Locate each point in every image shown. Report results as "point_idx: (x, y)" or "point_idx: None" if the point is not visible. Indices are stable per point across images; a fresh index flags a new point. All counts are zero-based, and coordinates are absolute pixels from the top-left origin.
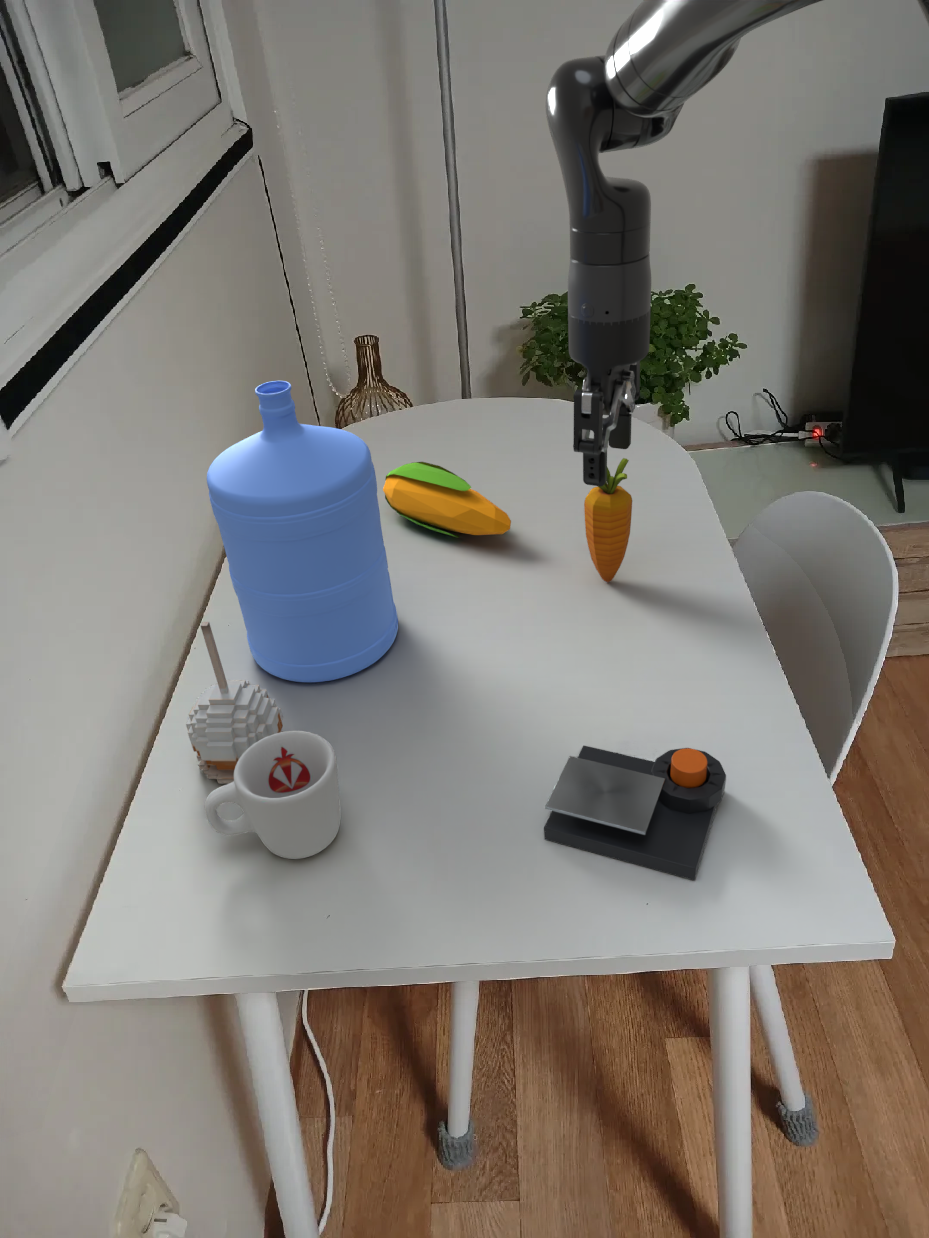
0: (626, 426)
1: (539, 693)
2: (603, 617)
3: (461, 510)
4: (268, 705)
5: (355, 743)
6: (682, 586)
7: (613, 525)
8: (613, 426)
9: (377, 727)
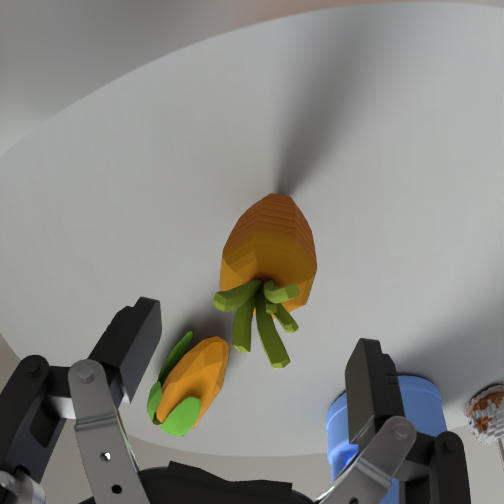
0: (134, 348)
1: (486, 254)
2: (364, 199)
3: (216, 388)
4: (500, 416)
5: (497, 358)
6: (274, 95)
7: (311, 246)
8: (376, 474)
9: (488, 353)
